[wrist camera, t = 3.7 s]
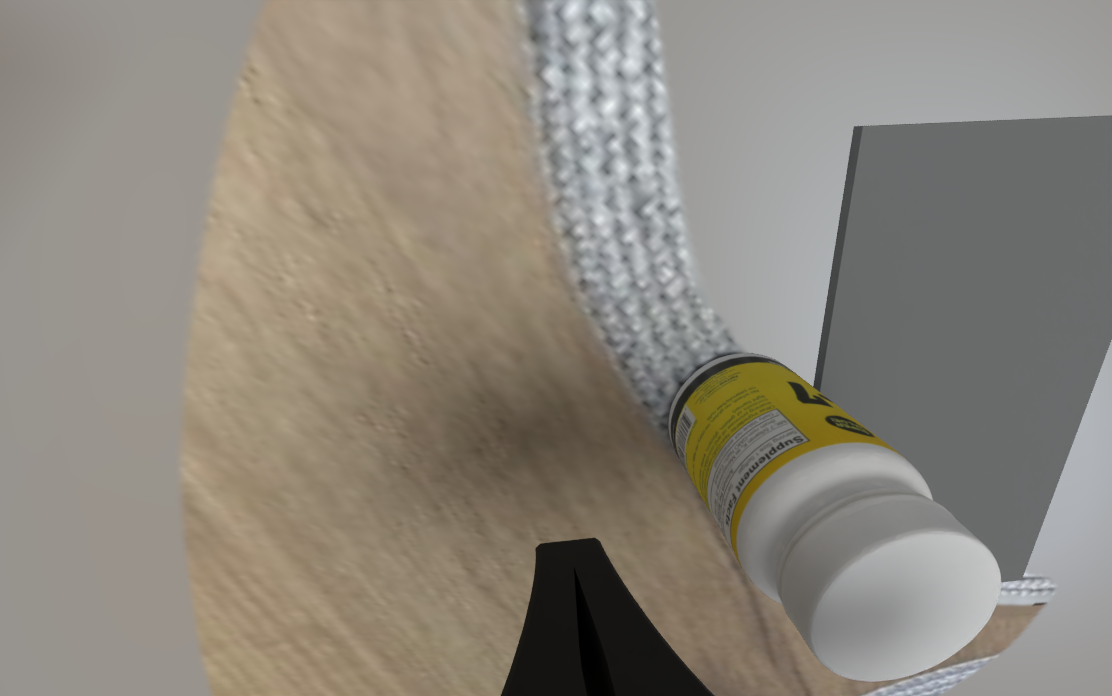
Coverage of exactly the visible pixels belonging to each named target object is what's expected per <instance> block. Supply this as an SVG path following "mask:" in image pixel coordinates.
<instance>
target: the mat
mask: <svg viewBox="0 0 1112 696" xmlns="http://www.w3.org/2000/svg"><path fill="white" fill-rule="evenodd" d="M1111 340H1112V116H1093V117H1092V116H1091V117H1069V118H1045V119H1021V120H999V121H998V120H997V121H974V122H951V123H926V124H902V125H879V126H857V127H856V126H855V127H854V130H853V138H852V144H851V149H850V156H849V162H848V169H847V175H846V181H845V188H844V194H843V200H842V207H841V213H840V220H839V226H838V233H837V239H836V246H835V252H834V259H833V264H832V271H831V277H830V284H829V290H828V296H827V303H826V309H825V316H824V322H823V329H822V335H821V341H820V348H819V355H818V360H817V367H816V374H815V380H814V386H813V387H814V388H815V389H816V390H818V391H819V392H820V393H821V394H823V395H824V396H825V397H827V398H828V399H829V400H830V401H832V402H833V403H834V404H836V405H837V406H839V407H840V408H841V409H842V410H843V411H845V412H846V413H847V414H849V415H850V416H851V417H852V418H854V419H855V420H857V421H858V422H859V423H860V424H862V425H863V426H864V427H865V428H867V429H868V430H869V431H871V432H872V433H873V434H875V435H876V436H877V437H879V438H880V439H881V440H883V441H884V442H885V443H887V444H888V445H889V446H890V447H892V448H893V449H894V450H896V451H897V452H898V453H900V454H901V455H902V456H903V457H904V458H906V459H907V460H908V461H909V462H910V463H911V464H912V465H913V466H914V467H915V468H916V469H917V471H918V472H919V473H920V474H921V475H922V477H923V479H924V480H925V482H926V483H927V485H928V488H929V490H930V492H931V495H932V498H933V501H935V502H937V503H938V504H940V505H942V506H943V507H944V508H946V509H947V510H948V511H949V512H950V513H951V514H952V515H953V516H954V517H955V518H956V519H957V520H958V521H959V522H960V523H961V524H962V525H963V526H964V527H965V528H966V529H968V530H969V531H970V532H971V533H972V534H973V535H974V536H975V537H977V538H978V539H979V540H980V541H981V542H982V543H983V544H984V545H985V546H986V547H987V548H988V549H989V550H990V551H991V553H992V554H993V556H994V558H995V559H996V561H997V564H998V567H999V569H1000V574H1001V582H1008V581H1016V580H1022V578H1023V575H1024V572H1025V570H1026V567H1027V564H1028V562H1029V559H1030V556H1031V553H1032V551H1033V548H1034V545H1035V542H1036V540H1037V537H1038V535H1039V532H1040V529H1041V526H1042V524H1043V521H1044V519H1045V516H1046V513H1047V511H1048V508H1049V505H1050V503H1051V500H1052V497H1053V495H1054V492H1055V489H1056V487H1057V484H1058V481H1059V479H1060V476H1061V473H1062V471H1063V468H1064V465H1065V463H1066V460H1067V457H1068V454H1069V452H1070V449H1071V447H1072V444H1073V441H1074V438H1075V435H1076V433H1077V430H1078V428H1079V425H1080V422H1081V420H1082V417H1083V414H1084V411H1085V409H1086V406H1087V404H1088V401H1089V398H1090V396H1091V393H1092V390H1093V388H1094V385H1095V382H1096V380H1097V377H1098V374H1099V372H1100V369H1101V366H1102V364H1103V361H1104V358H1105V355H1106V353H1107V350H1108V348H1109V345H1110V342H1111Z"/></svg>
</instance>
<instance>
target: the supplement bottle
mask: <svg viewBox="0 0 1112 696" xmlns="http://www.w3.org/2000/svg"><path fill="white" fill-rule="evenodd" d="M669 435H670V439H671V442H672V445H673V447H674V450H675V452H676V454H677V455H678V457H679V459H680V460H681V462H682V464H683V466H684V467H685V469H686V471H687V473H688V474H689V476H690V478H691V480H692V481H693V483H694V485H695V486H696V488H697V490H698V492H699V493H700V495H701V497H702V499H703V500H704V502H705V504H706V506H707V507H708V509H709V511H710V513H711V514H712V516H713V518H714V519H715V521H716V523H717V524H718V526H719V528H720V530H721V531H722V533H723V535H724V537H725V538H726V540H727V542H728V544H729V546H730V547H731V549H732V551H733V552H734V554H735V556H736V558H737V560H738V561H739V563H740V565H741V567H742V568H743V570H744V572H745V573H746V574H747V576H748V577H749V579H750V580H751V581H752V582H753V583H754V584H755V586H756V587H757V588H758V589H759V590H760V591H762V592H763V593H764V594H765V595H767V596H768V597H770V598H771V599H773V600H774V601H776V602H778V603H780V604H782V605H783V606H784V609H785V611H786V613H787V615H788V617H789V618H790V620H791V621H792V622H793V623H794V625H795V626H796V628H797V629H798V631H799V632H800V634H801V636H802V637H803V639H804V640H805V642H806V643H807V645H808V646H809V648H810V649H811V651H812V652H813V654H814V655H815V656H816V658H817V659H818V660H819V661H820V662H821V663H822V664H823V665H824V666H825V667H827V668H828V669H829V670H831V671H832V672H834V673H836V674H838V675H840V676H843V677H845V678H849V679H853V680H860V681H885V680H893V679H899V678H903V677H907V676H910V675H913V674H916V673H919V672H921V671H924V670H926V669H929V668H931V667H933V666H935V665H937V664H939V663H941V662H942V661H944V660H946V659H947V658H949V657H950V656H952V655H954V654H955V653H956V652H957V651H959V650H960V649H961V648H963V647H964V646H965V645H966V644H968V643H969V642H970V641H971V640H972V639H973V638H974V637H975V636H976V635H977V634H978V633H979V632H980V630H981V629H982V628H983V627H984V626H985V625H986V623H987V622H988V620H989V619H990V617H991V615H992V613H993V611H994V609H995V606H996V604H997V601H998V598H999V594H1000V590H1001V574H1000V569H999V567H998V564H997V561H996V559H995V558H994V556H993V554H992V553H991V551H990V550H989V549H988V548H987V547H986V546H985V545H984V544H983V543H982V542H981V541H980V540H979V539H978V538H977V537H975V536H974V535H973V534H972V533H971V532H970V531H969V530H968V529H966V528H965V527H964V526H963V525H962V524H961V523H960V522H959V521H958V520H957V519H956V518H955V517H954V516H953V515H952V514H951V513H950V512H949V511H948V510H947V509H946V508H944V507H943V506H942V505H940V504H938V503H937V502H935V501H933V498H932V495H931V492H930V490H929V488H928V485H927V483H926V482H925V480H924V479H923V477H922V475H921V474H920V473H919V472H918V471H917V469H916V468H915V467H914V466H913V465H912V464H911V463H910V462H909V461H908V460H907V459H906V458H904V457H903V456H902V455H901V454H900V453H898V452H897V451H896V450H894V449H893V448H892V447H890V446H889V445H888V444H887V443H885V442H884V441H883V440H881V439H880V438H879V437H877V436H876V435H875V434H873V433H872V432H871V431H869V430H868V429H867V428H865V427H864V426H863V425H862V424H860V423H859V422H858V421H857V420H855V419H854V418H852V417H851V416H850V415H849V414H847V413H846V412H845V411H843V410H842V409H841V408H840V407H839V406H837V405H836V404H834V403H833V402H832V401H830V400H829V399H828V398H827V397H825V396H824V395H823V394H821V393H820V392H819V391H818V390H816V389H815V388H814V387H812V386H811V385H810V384H809V383H807V382H806V381H805V380H803V379H802V378H801V377H800V376H798V375H797V374H796V373H794V372H793V371H791V370H790V369H789V368H787V367H786V366H785V365H783V364H781V363H780V362H778V361H776V360H774V359H772V358H769V357H767V356H763V355H759V354H754V353H739V354H732V355H727V356H724V357H721V358H718V359H715V360H713V361H711V362H709V363H707V364H706V365H704V366H703V367H701V368H700V369H698V370H697V371H696V372H695V373H694V374H693V375H692V376H691V377H690V378H689V379H688V380H687V381H686V382H685V383H684V385H683V386H682V387H681V388H680V390H679V392H678V393H677V395H676V397H675V399H674V401H673V403H672V406H671V410H670V414H669Z"/></svg>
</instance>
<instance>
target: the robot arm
mask: <svg viewBox="0 0 1112 696" xmlns="http://www.w3.org/2000/svg"><path fill="white" fill-rule="evenodd" d="M501 696H714V695H713V694H712V693H711V692H710V691H709V690H708V689H707V688H706V687H705V685H704V684H703V683H702V682H701V681H700V680H699V679H698V678H697V677H696V676H695V675H694V674H693V672H692V671H691V670H690V669H689V668H688V667H687V666H686V665H685V663H684V662H683V661H682V660H681V659H680V658H679V656H678V655H677V654H676V653H675V652H674V651H673V649H672V648H671V647H670V646H669V644H668V643H667V642H666V641H665V639H664V638H663V637H662V636H661V634H660V633H659V632H658V631H657V629H656V628H655V627H654V625H653V624H652V623H651V621H650V620H649V619H648V617H647V616H646V615H645V613H644V612H643V610H642V609H641V608H640V606H639V605H638V603H637V602H636V601H635V599H634V598H633V596H632V595H631V594H630V592H629V591H628V589H627V588H626V586H625V585H624V583H623V581H622V580H621V578H620V577H619V575H618V573H617V572H616V570H615V569H614V567H613V565H612V563H611V562H610V560H609V558H608V556H607V555H606V553H605V551H604V549H603V547H602V545H601V543H600V541H599V540H597V539H596V538H588V539H579V540H570V541H560V542H551V543H542V544H540V545H539V546H538V547H537V548H536V565H535V575H534V581H533V587H532V593H531V598H530V602H529V606H528V610H527V614H526V619H525V623H524V627H523V630H522V634H521V637H520V640H519V644H518V647H517V650H516V653H515V657H514V660H513V663H512V666H511V669H510V672H509V675H508V678H507V680H506V683H505V686H504V689H503V691H502V694H501Z"/></svg>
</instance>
